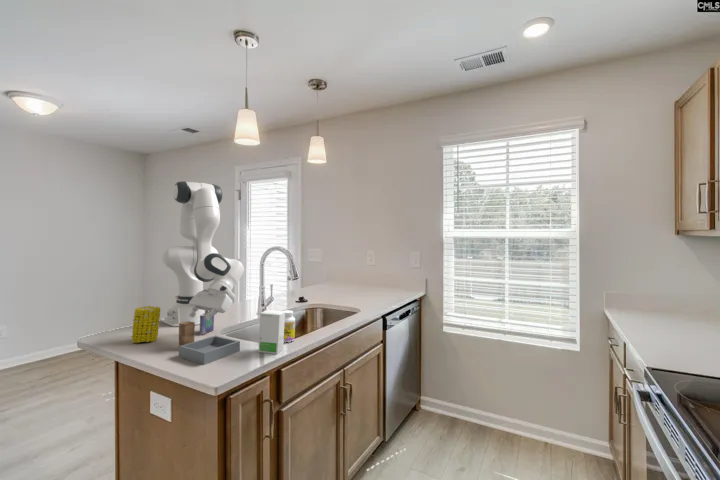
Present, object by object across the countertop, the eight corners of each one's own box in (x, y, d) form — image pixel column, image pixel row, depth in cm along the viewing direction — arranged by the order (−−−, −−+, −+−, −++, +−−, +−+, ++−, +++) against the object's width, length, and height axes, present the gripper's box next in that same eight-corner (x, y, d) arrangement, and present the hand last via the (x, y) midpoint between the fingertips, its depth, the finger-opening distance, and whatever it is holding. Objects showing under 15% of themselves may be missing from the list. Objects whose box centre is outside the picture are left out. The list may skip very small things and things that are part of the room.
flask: (203, 335, 152) (203, 311, 152) (197, 335, 152) (197, 311, 152) (215, 330, 161) (215, 307, 161) (209, 329, 161) (209, 307, 161)
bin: (178, 357, 125) (179, 346, 125) (215, 345, 139) (215, 335, 139) (204, 364, 119) (204, 353, 119) (239, 351, 133) (239, 341, 133)
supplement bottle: (276, 342, 145) (277, 312, 145) (282, 338, 151) (283, 309, 151) (291, 343, 144) (292, 313, 144) (296, 339, 150) (297, 310, 150)
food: (126, 346, 139) (149, 340, 149) (147, 343, 135) (169, 338, 145) (123, 309, 141) (145, 306, 150) (143, 305, 137) (165, 302, 146)
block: (178, 348, 135) (179, 323, 135) (187, 345, 138) (188, 321, 138) (185, 349, 133) (185, 324, 133) (194, 347, 136) (194, 322, 136)
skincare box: (257, 352, 132) (258, 313, 132) (264, 347, 138) (265, 309, 138) (278, 354, 131) (279, 314, 131) (284, 348, 137) (285, 310, 137)
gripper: (198, 284, 151) (177, 310, 142) (230, 288, 142) (210, 316, 133) (206, 293, 155) (186, 319, 146) (238, 297, 146) (219, 325, 137)
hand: (198, 318), depth 140 cm, fingers open, 8 cm apart
